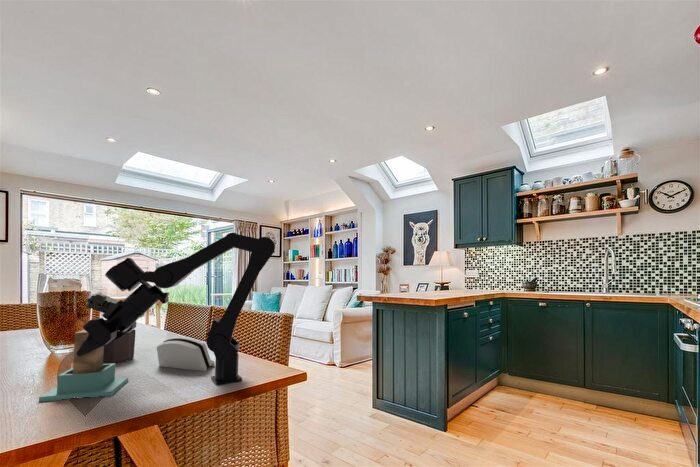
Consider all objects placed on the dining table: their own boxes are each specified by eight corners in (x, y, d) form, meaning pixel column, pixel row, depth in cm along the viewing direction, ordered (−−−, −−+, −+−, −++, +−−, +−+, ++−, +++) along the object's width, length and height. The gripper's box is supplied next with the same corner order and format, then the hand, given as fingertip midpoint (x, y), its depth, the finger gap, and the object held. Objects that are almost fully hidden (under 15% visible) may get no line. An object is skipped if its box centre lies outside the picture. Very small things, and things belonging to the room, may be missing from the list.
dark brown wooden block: (76, 365, 108) (80, 304, 110) (110, 356, 119) (113, 301, 121) (116, 368, 104) (120, 306, 106) (147, 359, 115) (150, 302, 116)
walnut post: (101, 382, 88) (104, 328, 89) (94, 388, 84) (97, 331, 85) (80, 384, 87) (83, 329, 88) (71, 390, 83) (75, 332, 84)
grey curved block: (216, 366, 107) (209, 336, 104) (205, 376, 102) (198, 344, 100) (171, 361, 112) (164, 332, 109) (159, 370, 107) (152, 341, 105)
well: (127, 381, 92) (129, 361, 93) (111, 395, 82) (112, 373, 82) (64, 385, 89) (66, 365, 89) (38, 401, 78) (40, 378, 79)
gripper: (125, 280, 98) (76, 323, 94) (96, 283, 80) (33, 336, 76) (156, 308, 99) (108, 352, 95) (133, 317, 81) (74, 372, 77)
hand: (83, 352), depth 86 cm, fingers open, 5 cm apart
